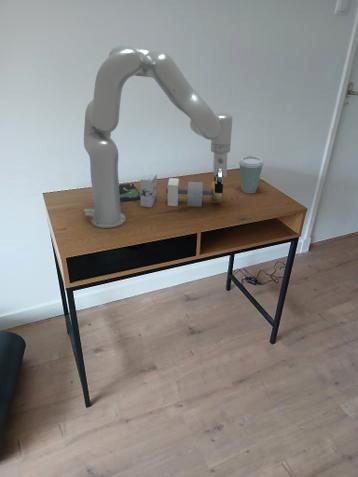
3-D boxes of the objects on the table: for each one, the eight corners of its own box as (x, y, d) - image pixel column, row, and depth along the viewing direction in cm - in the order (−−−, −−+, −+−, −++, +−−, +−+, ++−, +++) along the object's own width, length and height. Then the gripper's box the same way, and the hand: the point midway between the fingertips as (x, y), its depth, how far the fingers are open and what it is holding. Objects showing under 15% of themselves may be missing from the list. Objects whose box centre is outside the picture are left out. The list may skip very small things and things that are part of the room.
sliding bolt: (165, 200, 151) (165, 182, 147) (166, 196, 155) (166, 178, 151) (221, 203, 150) (223, 184, 146) (221, 198, 154) (223, 180, 150)
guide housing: (187, 206, 151) (187, 187, 147) (187, 199, 157) (188, 181, 153) (201, 206, 150) (202, 188, 146) (201, 199, 156) (202, 182, 152)
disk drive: (111, 191, 165) (116, 203, 152) (110, 185, 163) (116, 197, 151) (133, 188, 168) (141, 201, 155) (133, 183, 166) (140, 194, 154)
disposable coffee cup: (262, 195, 162) (266, 162, 154) (237, 195, 162) (241, 162, 154) (257, 186, 171) (261, 155, 164) (234, 186, 171) (237, 155, 164)
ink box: (146, 198, 157) (145, 172, 151) (157, 199, 156) (157, 173, 150) (140, 206, 149) (139, 179, 144) (152, 207, 149) (151, 180, 143)
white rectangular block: (167, 205, 151) (167, 185, 146) (169, 198, 157) (169, 178, 153) (177, 206, 150) (177, 185, 146) (178, 198, 157) (178, 178, 153)
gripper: (231, 153, 134) (228, 197, 142) (229, 141, 149) (226, 180, 157) (211, 153, 134) (209, 196, 143) (210, 140, 149) (208, 180, 158)
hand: (218, 188), depth 150 cm, fingers open, 9 cm apart
